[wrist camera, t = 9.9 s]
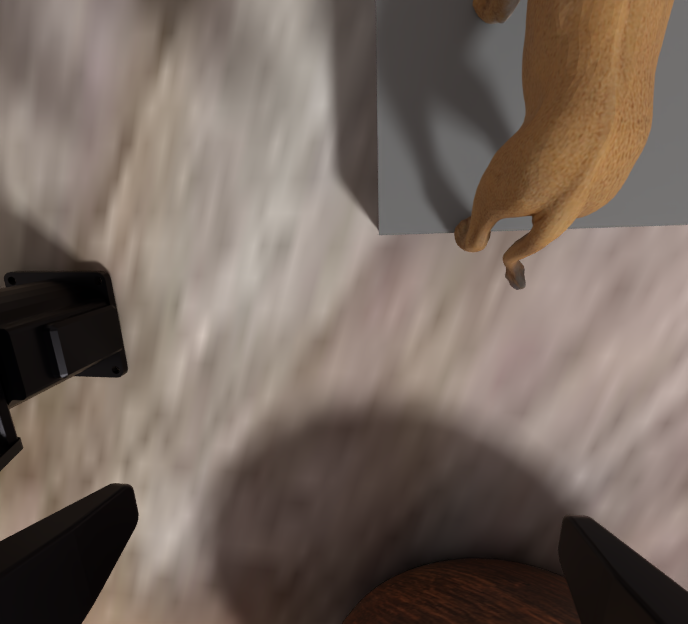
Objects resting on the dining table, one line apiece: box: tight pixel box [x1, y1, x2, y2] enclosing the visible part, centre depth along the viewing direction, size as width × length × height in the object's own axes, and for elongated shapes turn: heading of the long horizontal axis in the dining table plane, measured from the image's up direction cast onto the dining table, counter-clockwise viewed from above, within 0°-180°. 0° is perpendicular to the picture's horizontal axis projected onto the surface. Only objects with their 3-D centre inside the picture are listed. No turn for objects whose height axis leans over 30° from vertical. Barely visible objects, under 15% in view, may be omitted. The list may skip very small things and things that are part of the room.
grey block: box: [376, 0, 688, 235], centre depth 15 cm, size 12×14×4 cm
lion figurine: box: [454, 0, 674, 290], centre depth 9 cm, size 15×5×9 cm, turn 8°
